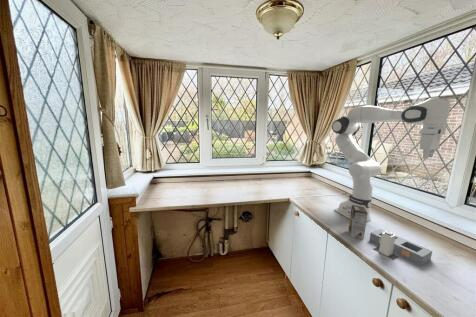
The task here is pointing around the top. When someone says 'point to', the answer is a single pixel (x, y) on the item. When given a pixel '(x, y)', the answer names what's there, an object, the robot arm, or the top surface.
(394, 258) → the mat
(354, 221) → the coffee box
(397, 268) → the top surface
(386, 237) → the plug
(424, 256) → the socket block
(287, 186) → the top surface
